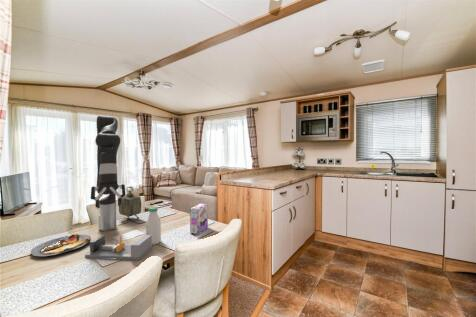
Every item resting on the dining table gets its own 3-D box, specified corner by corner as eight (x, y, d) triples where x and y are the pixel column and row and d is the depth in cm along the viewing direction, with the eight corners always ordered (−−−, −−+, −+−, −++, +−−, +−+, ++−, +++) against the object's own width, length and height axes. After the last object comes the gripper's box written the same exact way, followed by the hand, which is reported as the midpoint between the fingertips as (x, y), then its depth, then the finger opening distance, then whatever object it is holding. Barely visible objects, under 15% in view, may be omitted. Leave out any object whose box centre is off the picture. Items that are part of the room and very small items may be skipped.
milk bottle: (163, 240, 123) (163, 206, 122) (154, 246, 116) (154, 210, 115) (153, 238, 126) (152, 205, 125) (143, 244, 118) (142, 209, 118)
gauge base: (85, 257, 104) (84, 242, 103) (103, 246, 115) (102, 233, 115) (138, 260, 101) (138, 245, 100) (151, 249, 113) (151, 235, 112)
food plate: (84, 234, 132) (83, 228, 131) (97, 245, 117) (96, 239, 117) (28, 250, 112) (27, 243, 112) (35, 265, 98) (34, 258, 97)
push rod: (90, 252, 105) (89, 241, 105) (102, 245, 113) (101, 235, 113) (112, 253, 104) (112, 243, 104) (122, 246, 112) (122, 236, 112)
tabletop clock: (141, 218, 162) (141, 186, 161) (131, 222, 153) (130, 188, 152) (128, 216, 168) (127, 185, 167) (118, 219, 159) (117, 187, 158)
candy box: (198, 235, 131) (197, 209, 130) (189, 233, 133) (189, 208, 132) (208, 227, 144) (208, 203, 144) (200, 226, 146) (200, 202, 145)
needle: (116, 252, 106) (116, 236, 105) (122, 247, 110) (122, 232, 110) (118, 252, 105) (117, 236, 105) (124, 247, 110) (124, 232, 110)
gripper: (125, 173, 110) (126, 205, 107) (93, 175, 104) (93, 208, 102) (124, 172, 103) (124, 205, 101) (89, 173, 97) (89, 209, 95)
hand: (108, 207), depth 101 cm, fingers open, 8 cm apart
